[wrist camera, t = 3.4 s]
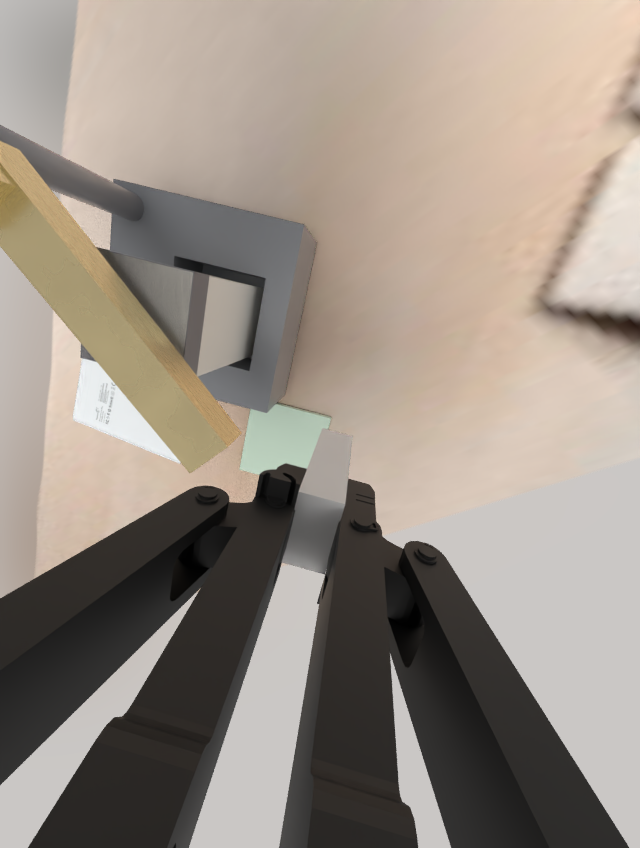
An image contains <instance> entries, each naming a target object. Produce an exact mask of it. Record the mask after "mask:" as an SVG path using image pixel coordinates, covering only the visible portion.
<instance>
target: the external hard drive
mask: <svg viewBox="0 0 640 848" xmlns="http://www.w3.org/2000/svg"><path fill="white" fill-rule="evenodd" d="M73 420H74V421H76V422H79V423H81V424H84V425H86V426H89V427H91V428H93V429H96V430H98V431H101V432H103V433H105V434H108V435H110V436H113V437H115V438H118V439H120V440H123V441H125V442H128V443H130V444H132V445H135V446H137V447H140V448H142V449H145V450H147V451H149V452H152V453H154V454H157V455H159V456H162V457H164V458H167V459H169V460H172V461H174V462H177V463H179V464H181V462H180V461H179V460H178V459H177V457H176V456H175V455H174V454H173V453H172V451H171V450H170V449H169V448H168V447H167V445H166V444H165V443H164V442H163V441H162V439H161V438H160V437H159V436H158V435H157V433H156V432H155V431H154V430H153V429H152V427H151V426H150V425H149V424H148V423H147V421H146V420H145V419H144V418H143V417H142V415H141V414H140V413H139V412H138V411H137V409H136V408H135V407H134V406H133V405H132V403H131V402H130V401H129V400H128V399H127V397H126V396H125V395H124V394H123V393H122V392H121V390H120V389H119V388H118V387H117V386H116V384H115V383H114V382H113V381H112V380H111V378H110V377H109V376H108V375H107V374H106V372H105V371H104V370H103V369H102V368H101V366H100V365H99V364H98V363H97V362H94V361H91V360H87V359H83V358H82V362H81V369H80V375H79V382H78V387H77V394H76V400H75V406H74V412H73Z"/></svg>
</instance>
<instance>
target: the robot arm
mask: <svg viewBox="0 0 640 848" xmlns="http://www.w3.org/2000/svg"><path fill="white" fill-rule="evenodd" d="M352 438H353V436H351V435H347V434H344V433H340V432H336V431H332V430H328V429H324V428H322V431H321V433H320V436H319V439H318V441H317V444H316V447H315V449H314V452H313V454H312V457H311V460H310V462H309V465H308V468H307V469H306V468H302V467H298V466H294V465H291V464H287V463H285V464H283V465H281V466H279V467H277V469H270V470H266V471H263V472H262V473H260V476H259V481H258V486H257V491H256V496H255V498H254V500H253V501H252V502H248V503H231V502H229V496H228V494H227V493H226V492H225V491H223V490H221V489H219V488H216V487H213V486H198V487H194V488H192V489H189V490H188V491H186V492H184V493H182V494H181V495H179V496H177V497H175V498H174V499H172V500H170V501H168V502H167V503H165V504H163V505H162V506H160V507H158V508H156V509H155V510H153V511H151V512H149V513H148V514H146V515H144V516H143V517H141V518H139V519H137V520H136V521H134V522H132V523H130V524H129V525H127V526H125V527H123V528H122V529H120V530H118V531H117V532H115V533H113V534H111V535H110V536H108V537H106V538H104V539H103V540H101V541H99V542H97V543H96V544H94V545H92V546H91V547H89V548H87V549H85V550H84V551H82V552H80V553H78V554H77V555H75V556H73V557H71V558H70V559H68V560H66V561H65V562H63V563H61V564H59V565H58V566H56V567H54V568H52V569H51V570H49V571H47V572H45V573H44V574H42V575H40V576H39V577H37V578H35V579H33V580H32V581H30V582H28V583H26V584H25V585H23V586H21V587H20V588H18V589H16V590H15V591H13V592H11V593H9V594H7V595H6V596H4V597H2V598H0V785H1V784H2V783H3V782H4V781H5V780H6V779H7V778H8V777H9V776H10V775H11V774H12V773H13V772H14V771H15V770H16V769H17V768H18V767H19V766H20V765H21V764H22V763H23V762H24V761H25V760H26V759H27V758H28V757H29V756H30V755H31V754H32V753H33V752H34V751H35V750H36V749H37V748H38V747H39V746H40V745H41V744H42V743H43V742H44V741H45V740H46V739H47V738H48V737H49V736H51V734H53V733H54V732H55V731H56V730H57V729H58V728H59V727H60V725H62V724H63V723H64V722H65V721H66V720H67V719H68V718H69V717H70V716H71V715H72V714H73V713H74V712H75V711H76V710H77V709H78V708H79V707H80V706H81V705H82V704H83V703H84V702H85V701H86V700H87V699H88V698H89V697H90V696H91V695H92V694H93V693H94V692H95V691H96V690H97V689H98V688H99V687H100V686H101V685H102V684H103V683H104V682H105V681H106V680H107V679H108V678H109V677H110V676H111V675H112V674H113V673H114V672H116V671H117V670H118V668H120V667H121V666H122V665H123V664H124V663H125V662H126V661H127V660H128V659H129V658H130V657H131V656H132V655H133V654H134V653H135V652H136V651H137V650H138V649H139V648H140V647H141V646H142V645H143V644H144V643H145V642H146V641H147V640H148V639H149V638H150V637H151V636H152V635H153V634H154V633H155V632H156V631H157V630H158V629H159V628H160V627H161V626H162V625H163V624H164V623H165V622H166V621H167V620H168V619H169V618H170V617H171V616H172V615H173V614H174V613H175V612H177V611H178V610H179V608H181V606H182V605H184V604H185V603H186V602H187V601H188V600H189V599H190V598H191V597H192V596H193V595H194V594H195V593H196V592H197V591H198V590H199V589H200V588H201V589H200V590H199V592H198V594H197V596H196V597H195V599H194V601H193V602H192V604H191V606H190V607H189V609H188V611H187V612H186V614H185V616H184V617H183V619H182V621H181V623H180V624H179V626H178V628H177V629H176V631H175V633H174V634H173V636H172V638H171V639H170V641H169V643H168V644H167V646H166V648H165V649H164V651H163V653H162V654H161V656H160V658H159V659H158V661H157V663H156V665H155V666H154V668H153V670H152V671H151V673H150V675H149V676H148V678H147V680H146V681H145V683H144V685H143V687H142V688H141V690H140V691H139V693H138V695H137V697H136V698H135V700H134V702H133V703H132V705H131V706H130V708H129V709H128V711H127V712H126V713H125V714H124V716H122V717H115V718H113V719H112V720H111V721H110V722H109V723H108V724H107V725H106V727H105V728H104V729H103V731H102V732H101V734H100V735H99V736H98V738H97V739H96V741H95V742H94V744H93V745H92V747H91V748H90V750H89V752H88V753H87V755H86V756H85V758H84V760H83V761H82V763H81V764H80V766H79V768H78V769H77V771H76V772H75V774H74V775H73V777H72V779H71V780H70V782H69V784H68V785H67V787H66V788H65V790H64V792H63V793H62V794H61V796H60V798H59V800H58V801H57V803H56V804H55V806H54V807H53V809H52V810H51V812H50V814H49V815H48V817H47V818H46V820H45V822H44V823H43V825H42V826H41V828H40V829H39V831H38V833H37V835H36V836H35V838H34V839H33V841H32V842H31V844H30V845H29V847H28V848H189V845H190V842H191V839H192V836H193V832H194V829H195V826H196V823H197V820H198V817H199V814H200V811H201V808H202V805H203V802H204V799H205V796H206V793H207V789H208V787H209V784H210V781H211V778H212V775H213V772H214V769H215V766H216V763H217V760H218V757H219V753H220V751H221V747H222V744H223V741H224V738H225V735H226V732H227V729H228V726H229V723H230V720H231V717H232V714H233V711H234V708H235V705H236V702H237V699H238V696H239V693H240V690H241V687H242V684H243V680H244V678H245V675H246V672H247V669H248V666H249V663H250V660H251V656H252V653H253V650H254V647H255V644H256V641H257V638H258V635H259V632H260V629H261V626H262V623H263V620H264V617H265V614H266V611H267V608H268V605H269V602H270V599H271V596H272V592H273V589H274V586H275V583H276V581H277V577H278V575H279V571H280V567H281V563H286V564H290V565H293V566H297V567H301V568H304V569H308V570H311V571H315V572H318V573H322V574H325V572H326V574H325V578H324V581H323V585H322V588H321V591H320V595H319V598H318V602H317V604H319V609H318V615H317V621H316V627H315V633H314V639H313V645H312V651H311V657H310V664H309V670H308V676H307V682H306V688H305V694H304V700H303V706H302V712H301V718H300V725H299V730H298V737H297V742H296V749H295V755H294V761H293V767H292V773H291V780H290V785H289V791H288V798H287V803H286V809H285V815H284V822H283V828H282V834H281V840H280V846H279V848H418V843H417V834H416V828H415V821H414V817H413V815H412V812H411V809H410V807H409V806H408V805H406V804H405V803H403V802H402V800H401V797H400V793H399V784H398V770H397V754H396V739H395V725H394V709H393V694H392V679H391V664H390V654H391V656H392V660H393V663H394V666H395V670H396V673H397V676H398V679H399V682H400V685H401V689H402V692H403V695H404V698H405V701H406V704H407V708H408V711H409V714H410V717H411V721H412V724H413V727H414V730H415V733H416V736H417V739H418V743H419V746H420V749H421V752H422V756H423V759H424V762H425V765H426V768H427V772H428V775H429V778H430V781H431V784H432V788H433V791H434V794H435V797H436V800H437V803H438V807H439V809H440V813H441V816H442V819H443V823H444V826H445V829H446V832H447V835H448V839H449V841H450V845H451V848H629V847H628V845H627V843H626V842H625V840H624V839H623V837H622V836H621V834H620V832H619V831H618V829H617V828H616V826H615V824H614V823H613V821H612V820H611V818H610V817H609V815H608V813H607V812H606V810H605V809H604V807H603V805H602V804H601V803H600V801H599V799H598V798H597V796H596V794H595V793H594V791H593V790H592V788H591V786H590V785H589V783H588V782H587V780H586V779H585V777H584V775H583V774H582V772H581V771H580V769H579V767H578V766H577V764H576V763H575V761H574V760H573V758H572V756H571V755H570V753H569V752H568V750H567V748H566V747H565V745H564V744H563V742H562V741H561V739H560V738H559V736H558V734H557V733H556V731H555V730H554V728H553V726H552V725H551V723H550V722H549V721H548V718H547V717H546V715H545V714H544V712H543V711H542V709H541V708H540V706H539V704H538V703H537V701H536V700H535V698H534V696H533V695H532V693H531V692H530V690H529V688H528V687H527V685H526V684H525V682H524V681H523V679H522V677H521V676H520V674H519V673H518V671H517V669H516V668H515V666H514V665H513V664H512V662H511V660H510V658H509V657H508V655H507V654H506V652H505V650H504V649H503V647H502V646H501V644H500V643H499V641H498V639H497V638H496V636H495V635H494V633H493V631H492V630H491V628H490V627H489V625H488V624H487V622H486V621H485V619H484V617H483V616H482V614H481V613H480V611H479V609H478V608H477V606H476V605H475V603H474V602H473V600H472V598H471V597H470V595H469V594H468V592H467V590H466V589H465V587H464V586H463V584H462V582H461V581H460V580H459V578H458V576H457V575H456V573H455V571H454V570H453V568H452V567H451V565H450V564H449V562H448V561H447V559H446V557H445V556H444V555H443V554H442V553H441V552H440V551H439V550H437V549H436V548H435V547H433V546H431V545H429V544H427V543H423V542H419V541H411V542H408V543H406V545H405V547H404V549H402V548H400V547H398V546H396V545H394V544H392V543H391V542H389V541H387V540H386V539H385V538H383V537H382V530H381V527H380V525H379V524H378V523H377V522H376V511H375V492H374V490H373V489H372V487H371V486H370V485H369V484H366V483H362V482H358V481H354V480H351V479H348V475H349V465H350V456H351V447H352ZM326 569H327V570H326Z"/></svg>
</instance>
